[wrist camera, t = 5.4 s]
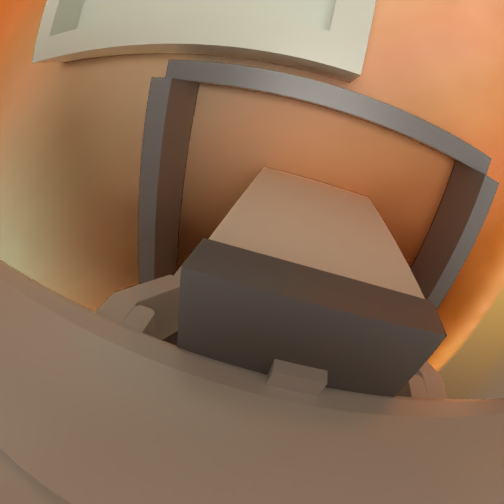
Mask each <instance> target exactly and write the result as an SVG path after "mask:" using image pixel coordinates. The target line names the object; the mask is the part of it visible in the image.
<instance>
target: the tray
mask: <svg viewBox="0 0 504 504" xmlns="http://www.w3.org/2000/svg"><path fill="white" fill-rule="evenodd" d="M375 2H376V0H47V2H46V5H45V9H44V12H43V16H42V19H41V23H40V27H39V31H38V35H37V39H36V44H35V49H34V54H33V59H32V63H54V62H69V61H75V60H81V59H88V58H95V57H104V56H114V55H126V54H146V53H182V54H203V55H216V56H226V57H235V58H243V59H250V60H256V61H262V62H268V63H274V64H279V65H284V66H289V67H293V68H298V69H302V70H306V71H310V72H314V73H318V74H322V75H325V76H329V77H332V78H336V79H339V80H342V81H346V82H349V83H350V82H351V81H353V80H354V79H356V78H357V77H359V76H360V75H361V71H362V67H363V63H364V58H365V54H366V49H367V44H368V39H369V34H370V29H371V24H372V19H373V14H374V8H375Z"/></svg>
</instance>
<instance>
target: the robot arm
mask: <svg viewBox="0 0 504 504" xmlns="http://www.w3.org/2000/svg"><path fill="white" fill-rule="evenodd" d="M188 257H189V256H188ZM185 261H186V260H185ZM185 261H184V262H185ZM182 265H183V264H182ZM182 265H181V266H182ZM180 275H181V267H180V268H179V269H178V271H177V272H176V273H175V274H174V276H173V275H167V276H164V277H161V278H158V279H155V280H151V281H148V282H145V283H142V284H139V285H136V286H133V287H130V288H127V289H123V290H120V291H117V292H114V293H112V295H111V296H110V297H109V298H108V299H107V300H106V301H105V302H104V303H103V304H102V306H101V307H100V308H99V309H98V310H97V311H96V312H94V311H92V310H90V309H88V308H86V307H84V306H82V305H80V304H78V303H76V302H74V301H72V300H70V299H68V298H66V297H64V296H62V295H60V294H58V293H56V292H54V291H53V290H51V289H49V288H47V287H45V286H43V285H42V284H40V283H38V282H36V281H35V280H33V279H31V278H29V277H28V276H26V275H24V274H23V273H21V272H19V271H18V270H16V269H15V268H13V267H11V266H10V265H8V264H7V263H5V262H4V261H2V260H1V259H0V504H504V398H499V399H466V400H465V399H447V395H446V392H445V388H444V384H443V381H442V377H441V376H440V375H439V374H438V372H437V371H436V370H435V369H434V368H433V367H432V366H431V365H430V364H429V363H428V361H426V362H425V363H424V365H423V366H422V367H421V368H420V369H419V370H418V371H417V373H416V374H415V375H414V376H413V377H412V378H411V379H410V380H409V381H408V382H407V384H406V385H405V386H404V387H403V388H402V389H401V390H400V391H399V392H398V393H397V394H396V395H395V396H394V397H390V396H381V395H373V394H365V393H358V392H351V391H345V390H339V389H333V388H327V387H324V389H323V390H322V391H321V393H320V394H319V395H318V396H316V395H310V394H305V393H300V392H296V391H291V390H286V389H282V388H277V387H273V386H269V385H266V383H267V377H268V375H267V374H263V373H259V372H256V371H252V370H248V369H245V368H241V367H237V366H234V365H231V364H227V363H224V362H221V361H217V360H214V359H211V358H208V357H205V356H201V355H198V354H195V353H192V352H190V351H187V350H184V349H181V348H178V347H177V345H174V344H171V343H168V342H166V341H163V339H164V338H166V337H168V336H170V335H171V334H173V333H175V332H176V331H178V311H179V291H180Z"/></svg>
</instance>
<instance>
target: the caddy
mask: <svg viewBox="0 0 504 504" xmlns="http://www.w3.org/2000/svg"><path fill="white" fill-rule="evenodd" d="M446 336H447V334H446V332H445V329H444V327H443V325H442V322H441V320H440V318H439V316H438V313H437V311H436V309H435V307H434V305H433V303H432V301H430V300H427V299H425V298H424V296H423V294H422V292H421V289H420V287H419V285H418V283H417V281H416V279H415V277H414V275H413V273H412V271H411V269H410V267H409V265H408V264H407V262H406V260H405V258H404V256H403V254H402V252H401V250H400V249H399V247H398V245H397V243H396V241H395V240H394V238H393V236H392V234H391V233H390V231H389V229H388V228H387V226H386V224H385V223H384V221H383V219H382V218H381V216H380V214H379V213H378V211H377V209H376V208H375V206H374V205H373V203H372V201H371V200H370V198H369V197H366V196H363V195H360V194H357V193H354V192H351V191H348V190H345V189H342V188H339V187H335V186H332V185H329V184H326V183H322V182H319V181H315V180H312V179H308V178H305V177H301V176H298V175H294V174H290V173H287V172H283V171H279V170H275V169H271V168H267V167H263V169H262V170H261V171H260V172H259V174H258V175H257V176H256V177H255V179H254V180H253V181H252V183H251V184H250V185H249V186H248V188H247V189H246V190H245V191H244V193H243V194H242V195H241V197H240V198H239V199H238V200H237V202H236V203H235V204H234V206H233V207H232V208H231V210H230V211H229V212H228V214H227V215H226V216H225V217H224V219H223V220H222V221H221V223H220V224H219V225H218V227H217V228H216V229H215V231H214V232H213V233H212V235H211V236H210V237H209V239H206V238H203V239H202V240H201V241H200V242H199V244H198V245H197V246H196V248H195V249H194V250H193V251H192V253H191V254H190V255H189V257H188V258H187V259H186V261H185V262H184V263H183V265H182V266H181V275H180V291H179V311H178V342H177V347H178V348H181V349H184V350H187V351H190V352H192V353H195V354H198V355H201V356H205V357H208V358H211V359H214V360H217V361H221V362H224V363H227V364H231V365H234V366H237V367H241V368H245V369H248V370H252V371H256V372H259V373H263V374H267V375H268V377H267V383H266V385H269V386H273V387H277V388H282V389H286V390H291V391H296V392H300V393H305V394H310V395H316V396H318V395H319V394H320V393H321V391H322V390H323V389H324V387H327V388H333V389H339V390H345V391H351V392H358V393H365V394H373V395H381V396H390V397H394V396H395V395H396V394H397V393H398V392H399V391H400V390H401V389H402V388H403V387H404V386H405V385H406V384H407V382H408V381H409V380H410V379H411V378H412V377H413V376H414V375H415V374H416V373H417V371H418V370H419V369H420V368H421V367H422V366H423V365H424V363H425V362H426V361H427V360H428V359H429V357H430V356H431V355H432V354H433V353H434V351H435V350H436V349H437V348H438V346H439V345H440V344H441V342H442V341H443V340H444V339H445V337H446Z"/></svg>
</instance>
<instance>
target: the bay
mask: <svg viewBox="0 0 504 504" xmlns="http://www.w3.org/2000/svg"><path fill="white" fill-rule="evenodd" d="M199 83H202V84H211V85H219V86H227V87H234V88H240V89H246V90H252V91H257V92H263V93H268V94H272V95H277V96H282V97H286V98H290V99H295V100H299V101H303V102H307V103H310V104H314V105H318V106H321V107H325V108H328V109H332V110H335V111H338V112H341V113H345V114H348V115H351V116H354V117H357V118H360V119H362V120H365V121H368V122H371V123H373V124H376V125H379V126H381V127H384V128H387V129H389V130H392V131H394V132H397V133H399V134H401V135H404V136H406V137H408V138H411V139H413V140H415V141H417V142H420V143H422V144H424V145H426V146H428V147H430V148H432V149H434V150H436V151H438V152H440V153H442V154H444V155H446V156H448V157H450V158H452V159H454V160H456V162H455V165H454V168H453V171H452V174H451V177H450V180H449V182H448V185H447V188H446V191H445V193H444V196H443V198H442V201H441V204H440V206H439V209H438V211H437V213H436V216H435V218H434V221H433V223H432V225H431V228H430V230H429V232H428V234H427V237H426V239H425V241H424V243H423V245H422V247H421V249H420V251H419V253H418V256H417V258H416V260H415V262H414V264H413V266H412V267H411V271H412V273H413V275H414V277H415V279H416V281H417V283H418V285H419V287H420V289H421V292H422V294H423V296H424V298H425V299H427V300H430V301H432V303H433V305H434V307H435V309H436V310H437V309H438V307H439V306H440V304H441V302H442V301H443V299H444V298H445V296H446V294H447V293H448V291H449V289H450V288H451V286H452V284H453V283H454V281H455V279H456V277H457V276H458V274H459V272H460V270H461V268H462V266H463V265H464V263H465V261H466V259H467V257H468V255H469V253H470V251H471V249H472V247H473V245H474V243H475V241H476V239H477V236H478V234H479V232H480V230H481V228H482V225H483V223H484V221H485V218H486V216H487V214H488V211H489V209H490V206H491V204H492V201H493V198H494V196H495V193H496V190H497V187H498V184H499V183H498V182H496V181H495V180H493V179H492V178H490V177H488V176H487V175H486V174H487V171H488V168H489V165H490V161H491V158H490V157H489V156H487V155H486V154H484V153H482V152H481V151H479V150H478V149H476V148H474V147H473V146H471V145H470V144H468V143H466V142H464V141H463V140H461V139H459V138H458V137H456V136H454V135H452V134H450V133H448V132H447V131H445V130H443V129H441V128H439V127H437V126H435V125H433V124H431V123H429V122H427V121H425V120H423V119H421V118H419V117H416V116H414V115H412V114H410V113H408V112H405V111H403V110H401V109H398V108H396V107H394V106H391V105H389V104H386V103H384V102H381V101H378V100H376V99H373V98H370V97H368V96H365V95H362V94H359V93H356V92H353V91H350V90H347V89H344V88H341V87H337V86H334V85H331V84H327V83H324V82H320V81H316V80H312V79H309V78H304V77H300V76H296V75H292V74H287V73H282V72H277V71H272V70H267V69H261V68H255V67H249V66H242V65H235V64H226V63H217V62H206V61H191V60H169V61H168V66H167V72H166V77H165V78H155V77H152V78H151V84H150V90H149V96H148V103H147V110H146V117H145V125H144V134H143V144H142V154H141V167H140V183H139V206H138V265H139V284H142V283H145V282H148V281H151V280H155V279H158V278H161V277H164V276H167V275H173V276H174V274H175V273H176V260H177V246H178V233H179V221H180V211H181V201H182V192H183V183H184V175H185V167H186V160H187V152H188V145H189V139H190V132H191V126H192V120H193V114H194V108H195V103H196V97H197V92H198V87H199ZM163 341H166V342H168V343H171V344H174V345H177V342H178V331H176V332H175V333H173V334H171V335H170V336H168V337H166V338H164V339H163Z"/></svg>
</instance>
